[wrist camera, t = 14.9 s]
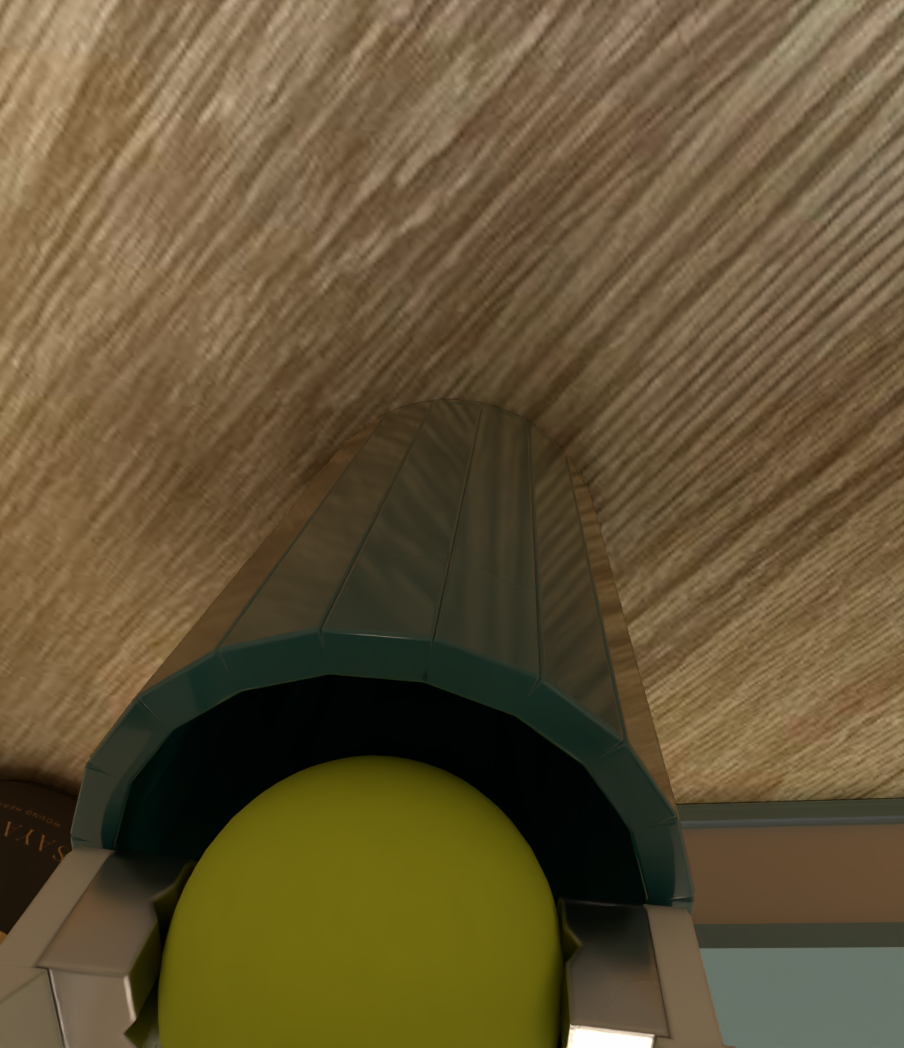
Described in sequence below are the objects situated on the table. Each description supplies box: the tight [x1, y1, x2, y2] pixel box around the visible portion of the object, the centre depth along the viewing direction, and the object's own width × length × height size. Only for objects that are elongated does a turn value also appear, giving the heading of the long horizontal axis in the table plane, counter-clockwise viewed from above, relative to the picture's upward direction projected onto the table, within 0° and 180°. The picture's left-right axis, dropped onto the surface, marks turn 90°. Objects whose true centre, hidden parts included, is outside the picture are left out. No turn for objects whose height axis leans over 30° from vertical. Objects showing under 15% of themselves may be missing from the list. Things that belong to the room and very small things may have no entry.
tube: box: [70, 399, 695, 915], centre depth 15 cm, size 8×8×12 cm
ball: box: [158, 755, 565, 1048], centre depth 9 cm, size 5×5×5 cm
